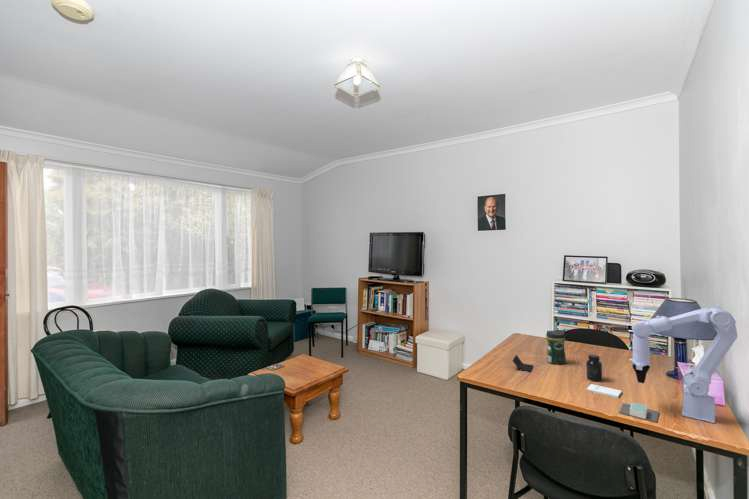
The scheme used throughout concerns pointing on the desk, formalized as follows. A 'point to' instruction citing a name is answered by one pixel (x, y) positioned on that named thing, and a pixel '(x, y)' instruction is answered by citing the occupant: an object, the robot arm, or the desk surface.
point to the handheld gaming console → (522, 365)
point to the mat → (650, 416)
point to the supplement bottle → (594, 368)
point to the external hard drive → (604, 390)
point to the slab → (638, 410)
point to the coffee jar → (556, 347)
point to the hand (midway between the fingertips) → (641, 382)
